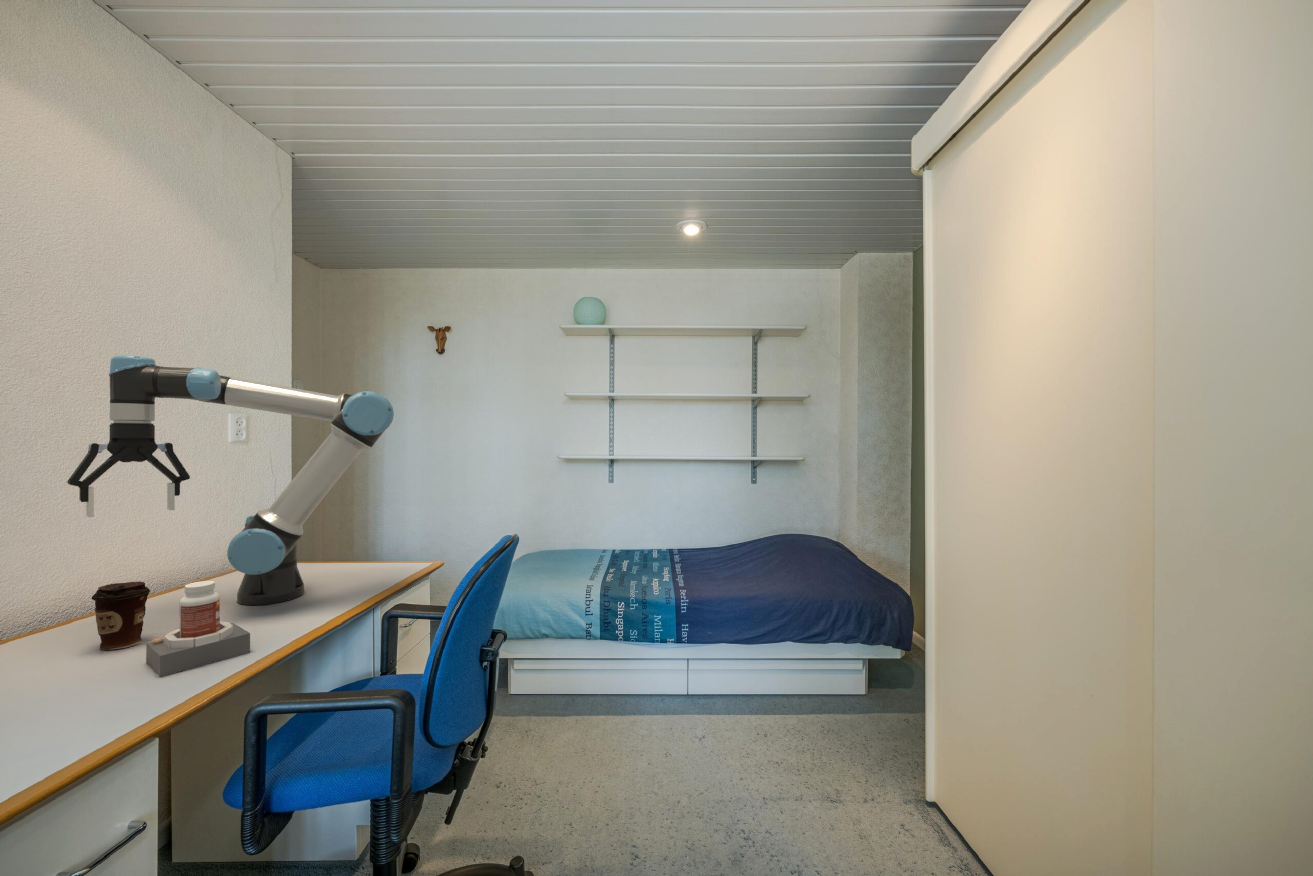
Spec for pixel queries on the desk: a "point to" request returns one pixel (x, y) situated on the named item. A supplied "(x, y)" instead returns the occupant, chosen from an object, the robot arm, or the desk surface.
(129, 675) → the desk surface
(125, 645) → the takeaway cup with lid
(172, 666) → the grey block with ring
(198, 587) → the pill bottle
